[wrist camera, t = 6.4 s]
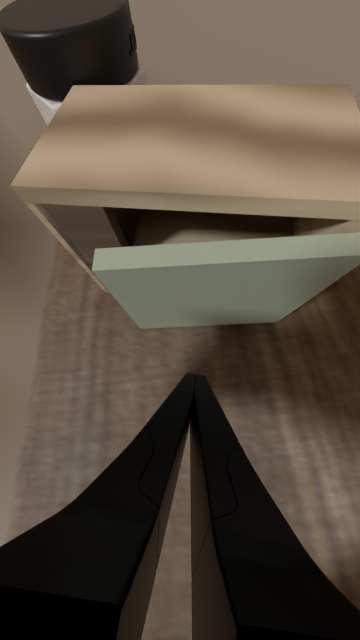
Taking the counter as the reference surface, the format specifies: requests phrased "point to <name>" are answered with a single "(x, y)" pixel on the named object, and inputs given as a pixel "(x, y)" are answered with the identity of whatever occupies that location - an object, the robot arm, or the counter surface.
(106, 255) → the door
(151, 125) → the cabinet
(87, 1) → the jar
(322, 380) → the counter surface
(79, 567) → the robot arm
